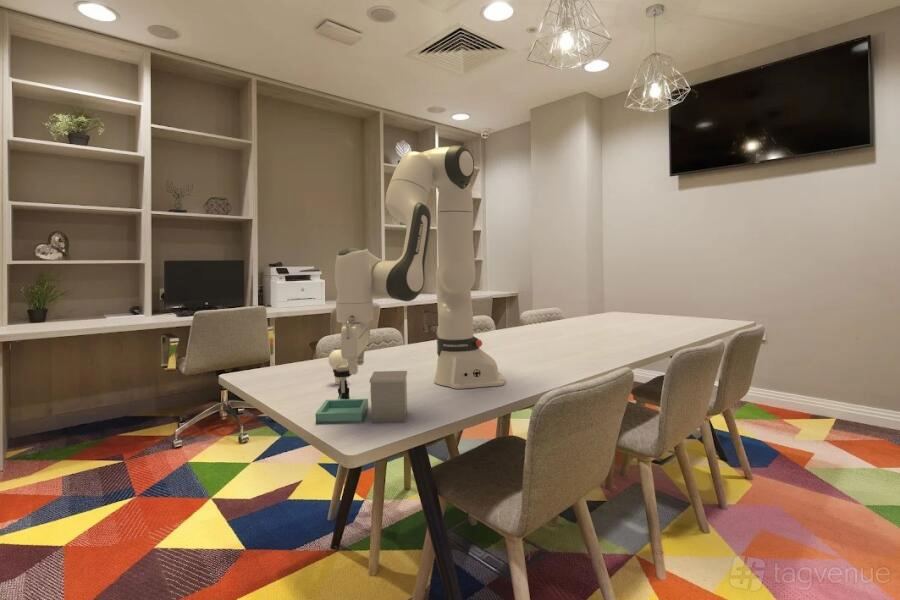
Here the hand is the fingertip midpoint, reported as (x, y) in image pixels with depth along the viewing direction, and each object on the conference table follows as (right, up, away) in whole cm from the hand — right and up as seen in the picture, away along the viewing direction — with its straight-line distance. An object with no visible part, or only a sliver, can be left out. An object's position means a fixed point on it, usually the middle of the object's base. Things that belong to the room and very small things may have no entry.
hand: (357, 369), depth 116 cm
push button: (-6, -11, +13) cm, 18 cm away
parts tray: (-4, -12, +2) cm, 13 cm away
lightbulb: (-12, -10, +32) cm, 35 cm away
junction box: (+8, -12, 0) cm, 15 cm away
